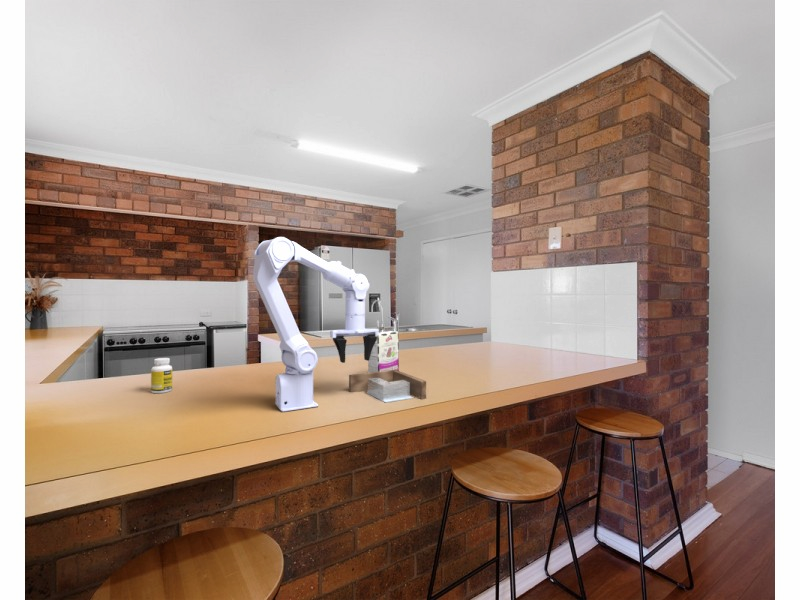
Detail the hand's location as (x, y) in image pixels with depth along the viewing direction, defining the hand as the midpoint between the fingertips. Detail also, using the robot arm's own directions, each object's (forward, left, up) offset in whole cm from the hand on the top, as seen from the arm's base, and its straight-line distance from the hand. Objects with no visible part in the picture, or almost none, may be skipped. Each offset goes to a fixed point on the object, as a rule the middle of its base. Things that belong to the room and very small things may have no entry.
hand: (354, 361), depth 113 cm
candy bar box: (+16, +12, -10) cm, 22 cm away
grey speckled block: (+8, -5, -10) cm, 14 cm away
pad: (+8, -6, -10) cm, 14 cm away
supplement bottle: (-49, +31, -10) cm, 59 cm away
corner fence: (+7, -5, -10) cm, 13 cm away
